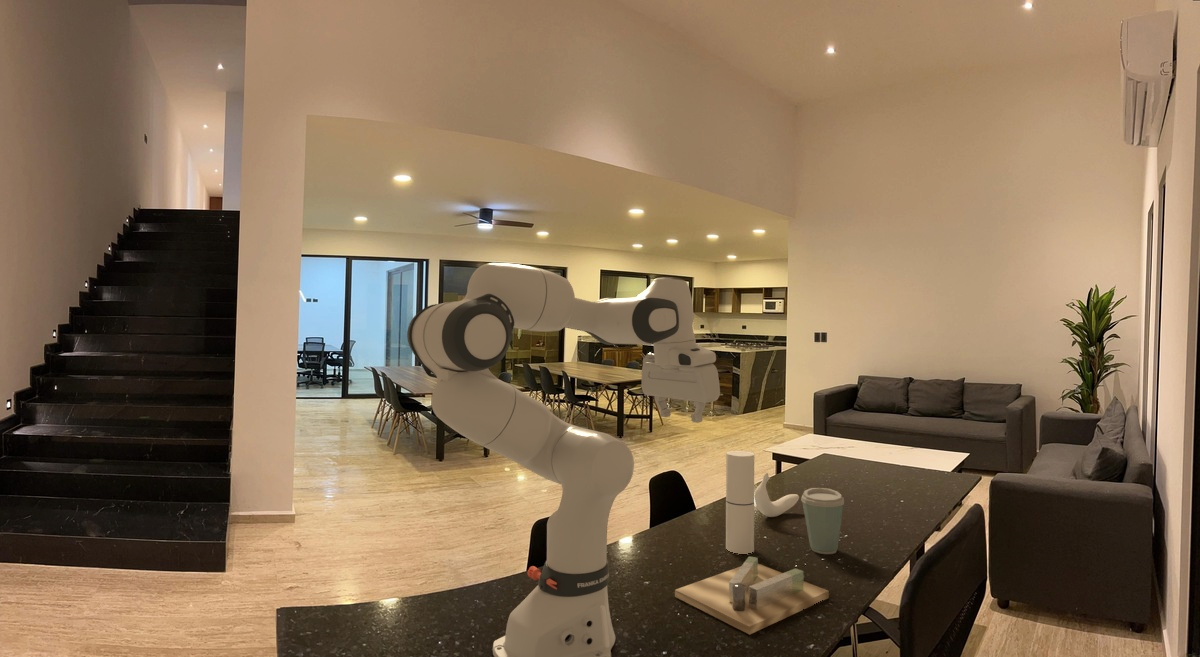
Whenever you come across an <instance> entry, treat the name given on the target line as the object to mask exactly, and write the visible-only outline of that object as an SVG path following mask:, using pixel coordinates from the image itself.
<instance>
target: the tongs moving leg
mask: <svg viewBox="0 0 1200 657" xmlns="http://www.w3.org/2000/svg"><path fill="white" fill-rule="evenodd" d="M758 564H759V560H758V557H756V556H750V555H749V556H748V557H747V558H746V559H745V561H743V564H741V567H740V566H739V567H740V569H739V570H738V571H737V573H736V574H735V575H734V576H733V578H732V579H731V580H730V582H729V602H732V608H733V609H734V610H736V611H744V610H745V594H746V592H747V591H748V589H749V586H751V585H752V583H753V582H754V580H755V579H756V577H757V576H758Z"/></svg>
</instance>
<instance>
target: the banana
mask: <svg viewBox="0 0 1200 657" xmlns="http://www.w3.org/2000/svg"><path fill="white" fill-rule="evenodd" d="M769 480H771V477H770V476H769V472H766V473H764V474H763V476H762V480H761V482H760V484H759V485H758V486H757V487H756V488H755V490H754V503H755V505H756V508H757V510H758V511H759V512H760V513H761V514H762V515H764V516H766V517H768V518H776V517H778V516H780V515H783V514H784V513H785V512H787V511H789V510H790V509H791V508H793V507H794V506H795V505H796V504H797V502H798V501H799V499H800V496H799V494H796V493H792V494H791V493H790V494H786V495H785V496H784V495H783V496H782V497H780V498H778V499H776V500H775V501H771V499H770V497H769V493H768V490H767V487H766V486H767V483H768V481H769Z"/></svg>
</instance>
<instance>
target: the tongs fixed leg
mask: <svg viewBox="0 0 1200 657" xmlns="http://www.w3.org/2000/svg"><path fill="white" fill-rule="evenodd" d="M781 573H782V574H780V575H777V576H775V577H772V578H769V579H767V580H764V581H762V582H759V583H757V584H754V585H751V586H749V607H751V608H753V609H756V610H758V609H760V608H763V607H765V606H767V605H770V604H772V603H774V602H777V601H779V600H781V599H784V598H786V597H788V596H791V595H793V594H795V593H798V592H800V591H802V590H803V581H804V570H802V569H798V568H793V569H790V570H788V571H784V572H781Z"/></svg>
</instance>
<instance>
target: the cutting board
mask: <svg viewBox="0 0 1200 657" xmlns="http://www.w3.org/2000/svg"><path fill="white" fill-rule="evenodd" d="M741 566H742V565H741ZM741 566H738V567H736V568H732V569H730V570H726V571H723V572H721V573H719V574H716V575H713V576H710V577H707V578H704V579H702V580H699V581H695V582H692V583H690V584H687V585H685V586H682V587H679V588H676V589H674V597H675V598H676V599H679V600H680V601H683V602H685V603H686V604H688V605H690V606H692V607H694V608H697V609H699V610H701V611H702V612H704V613H706V614H708V615H710V616H712V617H714V618H715V619H718V620H720V621H722V622H724V623H726V624H728V625H729V626H732V627H733V628H736V629H738V630H740V631H741V632H744V633H746V634H748V635H749V636H750V635H752V634H754V633H757V632H758V631H761V630H762V629H764V628H767V627H768V626H772V625H773V624H776V623H777V622H779V621H780V622H781V621H782V620H784V619H786V618H788V617H791V616H793V615H795V614H797V613H799V612H801V611H804V610H805V609H808V608H811V607H812V606H814V604H815V605H816V603H817V604H819V603H821V602H823V601H825V600H828V599H829V598H830V593H829V592H830V591H829V590H828V589H825V588H822V587H819V586H817V585H815V584H812V583H810V582H807V581H804V580H803V590H802V591H800V592H798V593H795V594H793V595H791V596H788V597H786V598H784V599H781V600H779V601H777V602H774V603H772V604H770V605H767V606H765V607H763V608H760V609H758V610H756V609H753V608H751V607H749V589H748V591H747V592H746V594H745V610H744V611H736V610H734V609H733V608H732V602H729V582H730V580H731V579H732V578H733V576H734V575H735V574H736V573H737V571H738V570H739V569H740V567H741ZM782 573H783V572H781V571H779V570H776V569H773V568H771V567H768V566H765V565H763V564H761V563H758V576H757V577H756V579H755V580H754V582H753V583H752V585H754V584H757V583H759V582H762V581H764V580H767V579H769V578H772V577H775V576H777V575H780V574H782ZM822 600H823V601H822ZM820 601H821V602H820ZM818 602H819V603H818ZM803 609H804V610H803Z"/></svg>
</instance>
